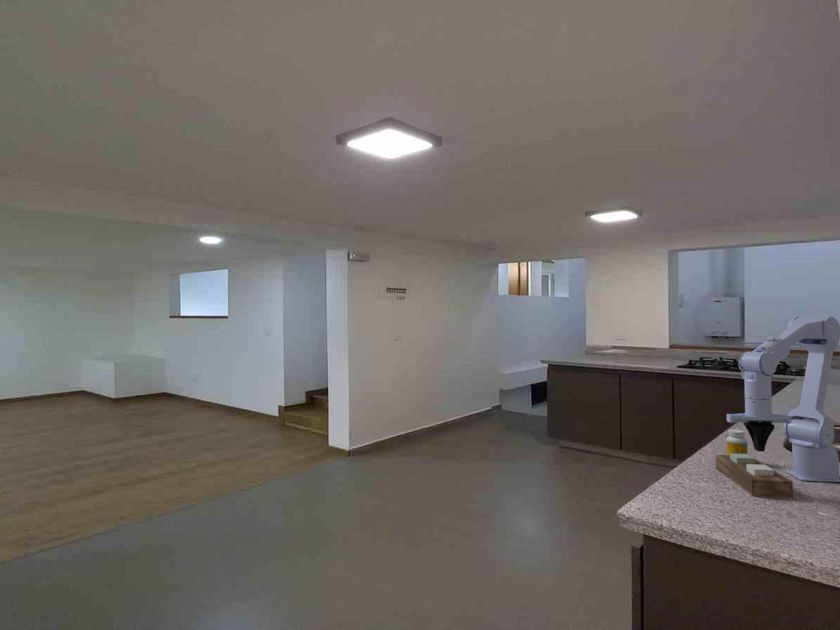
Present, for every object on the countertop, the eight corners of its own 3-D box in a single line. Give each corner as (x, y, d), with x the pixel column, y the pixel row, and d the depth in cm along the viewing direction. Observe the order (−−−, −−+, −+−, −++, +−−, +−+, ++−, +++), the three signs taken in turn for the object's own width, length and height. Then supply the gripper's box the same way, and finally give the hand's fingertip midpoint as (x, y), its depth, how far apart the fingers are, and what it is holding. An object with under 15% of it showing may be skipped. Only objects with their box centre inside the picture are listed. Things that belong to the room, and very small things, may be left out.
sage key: (747, 464, 137) (747, 453, 137) (754, 469, 132) (754, 458, 132) (730, 464, 138) (729, 453, 138) (737, 468, 133) (736, 458, 133)
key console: (750, 469, 140) (749, 455, 140) (793, 497, 118) (792, 481, 118) (716, 468, 142) (715, 454, 142) (752, 495, 120) (751, 479, 120)
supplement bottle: (732, 458, 151) (731, 427, 151) (751, 462, 146) (750, 431, 146) (723, 461, 148) (722, 430, 148) (743, 466, 143) (742, 433, 143)
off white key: (765, 476, 127) (764, 464, 127) (774, 481, 123) (773, 470, 123) (746, 475, 128) (746, 464, 128) (754, 481, 123) (754, 469, 124)
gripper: (779, 395, 128) (780, 446, 128) (720, 395, 130) (721, 445, 130) (796, 400, 121) (797, 454, 121) (733, 399, 123) (734, 453, 123)
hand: (759, 450), depth 125 cm, fingers closed
